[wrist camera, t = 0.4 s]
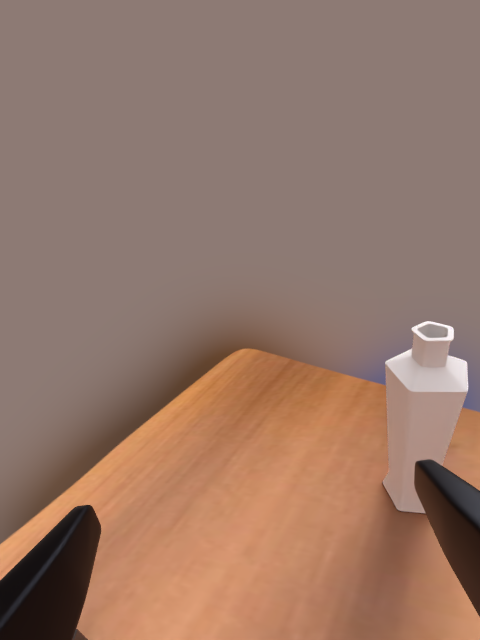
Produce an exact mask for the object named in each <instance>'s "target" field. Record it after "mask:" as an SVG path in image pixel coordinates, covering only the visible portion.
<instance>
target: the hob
mask: <svg viewBox="0 0 480 640" xmlns="http://www.w3.org/2000/svg"><path fill="white" fill-rule="evenodd" d="M73 640H88V639H87V638H86V637H85V636H84V635H83V634H82V633H81V632H80V631H79V630H78V629H76V631H75V634H74V637H73Z"/></svg>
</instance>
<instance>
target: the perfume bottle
mask: <svg viewBox="0 0 480 640" xmlns="http://www.w3.org/2000/svg"><path fill="white" fill-rule="evenodd" d="M411 330H412V332H413V333H414V337H413V346H412V349H410V350H408V351H406V352H404V353H402V354H400V355H398V356H396V357H394V358H392V359H389V360H387V361H386V362H385V366H386V398H387V429H388V460H389V472H388V473H387V475H386V477H385V478H384V480H383V485H384V487H385V488H386V490H387V492H388V494H389V496H390V497H391V499H392V501H393V503H394V505H395V506H396V508H397V509H398V510H399V511H405V512H416V513H425V511H424V508H423V506H422V504H421V502H420V500H419V497H418V495H417V493H416V490H415V486H414V472H415V463H416V461H420V460H427V459H431V460H434V461H436V462H437V463H439V464H440V465H442V464H443V461H444V458H445V456H446V453H447V450H448V447H449V444H450V441H451V438H452V435H453V432H454V429H455V426H456V424H457V421H458V418H459V415H460V412H461V409H462V406H463V403H464V400H465V397H466V394H467V391H468V373H467V362H466V361H464V360H462V359H458V358H455V357H451V356H448V351H449V346H450V341H452V340H453V339H454V329H453V328H452V327H451V326H447V325H443V324H439V323H435V322H430V321H426V322H424V323H422V324H419V325H417V326H415V327H413V328H412V329H411Z"/></svg>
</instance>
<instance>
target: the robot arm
mask: <svg viewBox="0 0 480 640" xmlns="http://www.w3.org/2000/svg"><path fill="white" fill-rule="evenodd" d="M414 486H415V490H416V493H417V495H418V497H419V500H420V502H421V504H422V506H423V508H424V511H425V513H426V515H427V517H428V519H429V522H430V524H431V526H432V528H433V530H434V533H435V535H436V537H437V539H438V541H439V544H440V546H441V548H442V550H443V552H444V554H445V556H446V558H447V560H448V562H449V564H450V565H451V567H452V569H453V571H454V572H455V574H456V576H457V578H458V579H459V581H460V583H461V585H462V587H463V588H464V590H465V592H466V594H467V595H468V597H469V599H470V601H471V602H472V604H473V606H474V608H475V609H476V611H477V613H478V615H479V616H480V491H479V490H478V489H476V488H475V487H473V486H472V485H470V484H469V483H467V482H466V481H464V480H463V479H461V478H460V477H458V476H457V475H455V474H454V473H452V472H451V471H449V470H448V469H446V468H445V467H443V466H442V465H440V464H439V463H437V462H436V461H434V460H431V459H427V460H420V461H416V463H415V472H414ZM100 534H101V525H100V522H99V520H98V518H97V516H96V513H95V511H94V509H93V507H92V506H90V505H83V506H77V507H75V508H74V509H73V510H71V511H70V512H69V513H68V514H67V515H66V516H65V517H64V518H63V519H62V520H61V521H60V522H59V523H58V524H57V525H56V526H55V527H54V528H53V529H52V530H51V531H50V532H49V533H48V534H47V535H46V536H45V537H44V538H43V539H42V540H41V541H40V542H39V543H38V544H37V545H36V546H35V547H34V548H33V549H32V550H31V551H30V552H29V553H28V554H27V555H26V556H25V557H24V558H23V559H22V560H21V561H20V562H19V563H18V564H17V565H16V566H15V567H14V568H13V569H12V570H11V571H10V572H9V573H8V574H7V575H6V576H5V577H4V578H3V579H1V580H0V640H73V637H74V634H75V631H76V628H77V624H78V621H79V618H80V615H81V612H82V609H83V605H84V602H85V599H86V595H87V591H88V587H89V583H90V578H91V574H92V570H93V565H94V561H95V556H96V552H97V548H98V543H99V539H100Z"/></svg>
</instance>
